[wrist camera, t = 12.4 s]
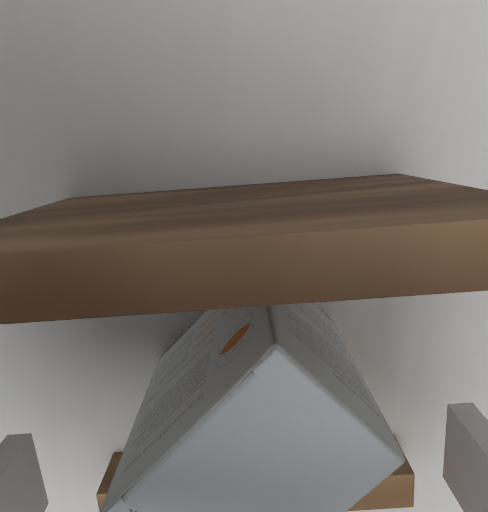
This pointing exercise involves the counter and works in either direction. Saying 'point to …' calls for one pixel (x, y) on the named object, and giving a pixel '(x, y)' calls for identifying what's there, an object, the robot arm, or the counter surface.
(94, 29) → the counter surface
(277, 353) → the small box
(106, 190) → the counter surface
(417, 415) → the counter surface
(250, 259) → the board
